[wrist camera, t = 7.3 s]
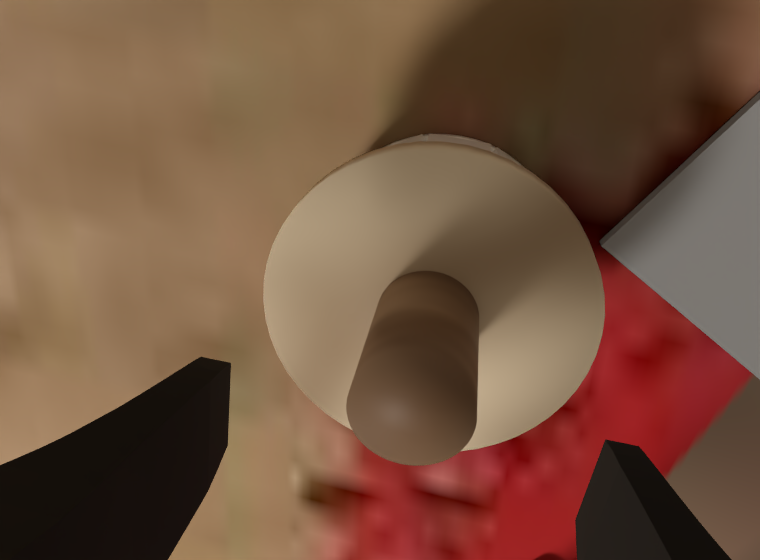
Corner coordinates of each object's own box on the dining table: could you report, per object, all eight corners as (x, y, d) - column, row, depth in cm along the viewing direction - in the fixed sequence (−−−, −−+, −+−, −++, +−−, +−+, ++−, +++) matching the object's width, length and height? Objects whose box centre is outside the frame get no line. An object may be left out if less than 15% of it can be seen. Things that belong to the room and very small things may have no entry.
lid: (674, 299, 16) (743, 419, 12) (442, 481, 20) (429, 623, 15) (413, 62, 14) (382, 100, 10) (213, 306, 18) (128, 409, 14)
